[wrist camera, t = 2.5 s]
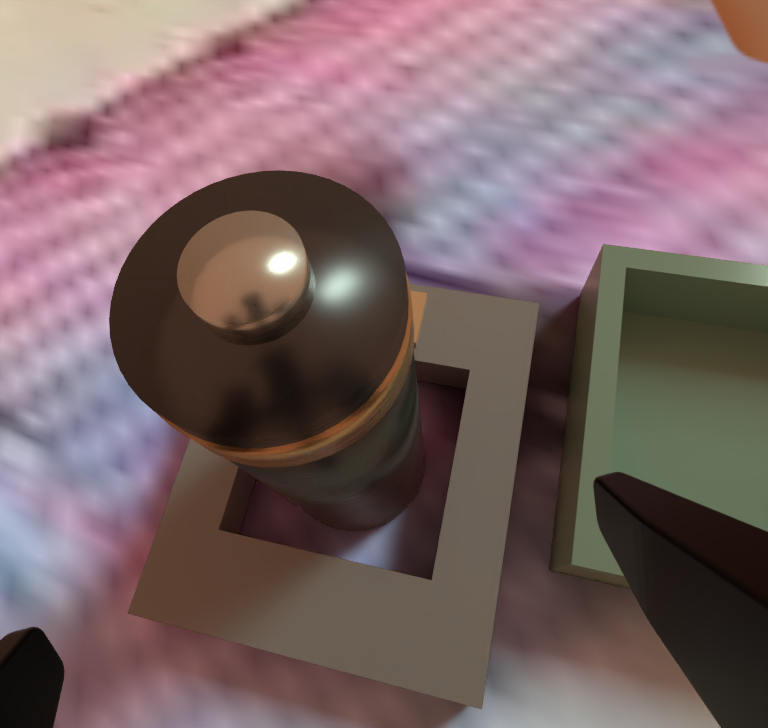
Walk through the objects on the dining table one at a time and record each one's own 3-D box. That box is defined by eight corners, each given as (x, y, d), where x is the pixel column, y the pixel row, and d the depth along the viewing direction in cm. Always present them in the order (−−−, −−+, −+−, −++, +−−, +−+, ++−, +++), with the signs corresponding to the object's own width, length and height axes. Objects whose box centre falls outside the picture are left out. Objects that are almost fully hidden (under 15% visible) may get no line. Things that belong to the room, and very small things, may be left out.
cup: (907, 651, 17) (1014, 662, 14) (548, 570, 19) (571, 564, 16) (876, 338, 21) (955, 290, 18) (579, 294, 23) (603, 244, 19)
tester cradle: (477, 697, 18) (482, 711, 16) (157, 612, 20) (121, 613, 17) (530, 327, 22) (541, 297, 20) (267, 286, 24) (250, 254, 22)
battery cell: (410, 546, 20) (363, 458, 7) (271, 515, 20) (22, 388, 8) (437, 408, 21) (436, 152, 9) (309, 384, 22) (150, 121, 10)
